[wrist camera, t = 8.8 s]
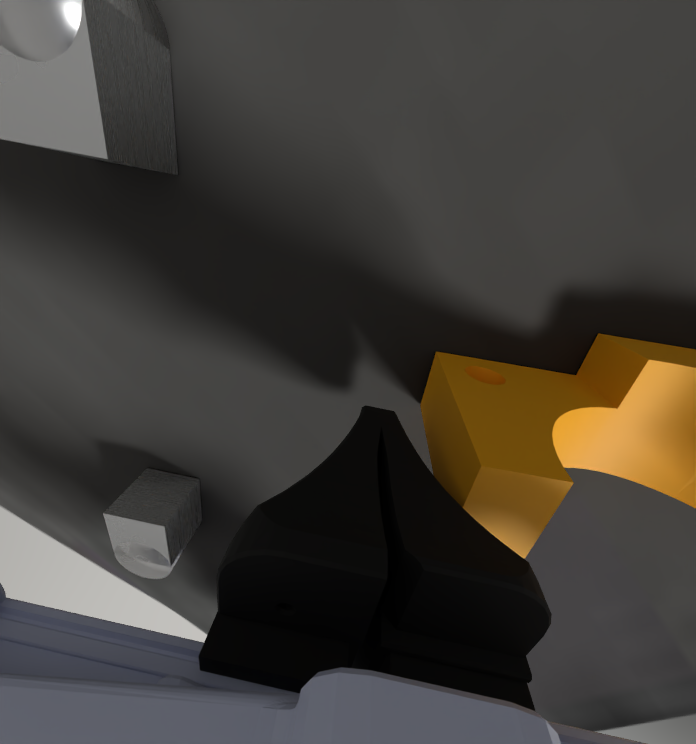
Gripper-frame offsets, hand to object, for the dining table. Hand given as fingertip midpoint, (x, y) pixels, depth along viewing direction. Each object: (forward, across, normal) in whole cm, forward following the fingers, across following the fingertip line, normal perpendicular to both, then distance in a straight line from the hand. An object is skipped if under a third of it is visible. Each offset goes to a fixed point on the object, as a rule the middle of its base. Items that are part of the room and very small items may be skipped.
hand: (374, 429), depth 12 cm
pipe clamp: (+2, -8, -3) cm, 9 cm away
